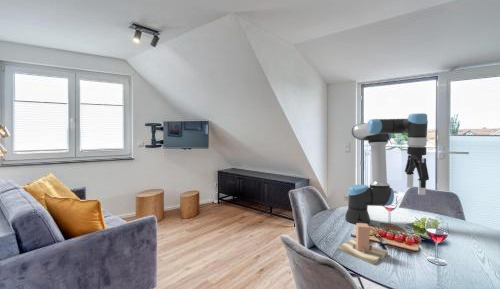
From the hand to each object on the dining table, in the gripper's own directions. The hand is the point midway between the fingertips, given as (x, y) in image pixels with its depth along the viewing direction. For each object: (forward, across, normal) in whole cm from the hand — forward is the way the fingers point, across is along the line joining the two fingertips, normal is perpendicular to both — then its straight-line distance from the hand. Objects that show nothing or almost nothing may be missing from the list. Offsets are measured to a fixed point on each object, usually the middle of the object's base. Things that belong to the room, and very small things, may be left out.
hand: (415, 190), depth 119 cm
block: (+29, -4, +24) cm, 38 cm away
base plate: (+31, -4, +24) cm, 39 cm away
